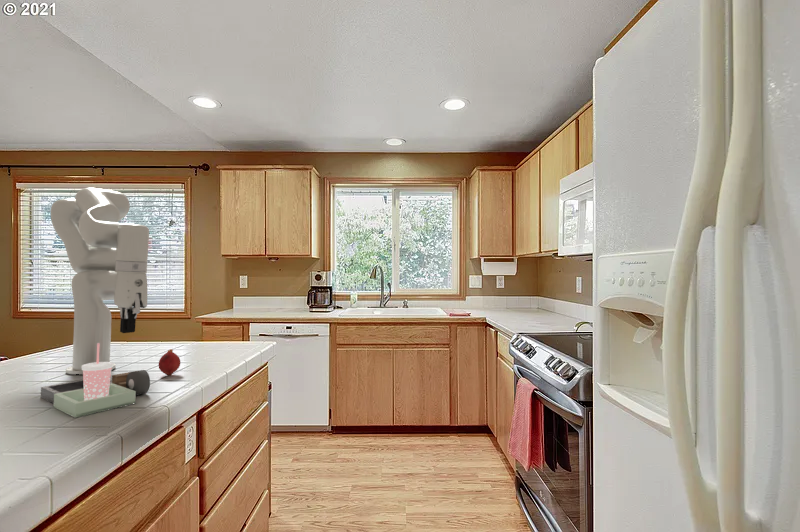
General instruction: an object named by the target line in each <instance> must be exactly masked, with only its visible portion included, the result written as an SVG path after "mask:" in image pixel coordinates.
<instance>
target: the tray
mask: <svg viewBox="0 0 800 532" xmlns="http://www.w3.org/2000/svg"><path fill="white" fill-rule="evenodd" d="M136 396H137V395H136V391H134V390H131V389H128V388H125V387H122V386H119V385H116V384H113V383H112V382H110V387H109V396H105V397H100V398H95V399H90V400H85V401H84V389H78V390H73V391H68V392H62V393H57V394H54V403H53V408H54V409H56V410H59V411H61V412H63V413H65V414H66V415H69V416H70V417H73V418H80V417H84V416H88V415H92V414H96V412H98V413H101V411H102V412H104V410H106V411H109V410H108V409H110V410H113V409H112V408H115V409H118V408H117V407H119V408H122V407H121V406H123V407H126V406H125V405H128V406H130V405H129V404H132V405H134V404H133V403H135V404H136Z"/></svg>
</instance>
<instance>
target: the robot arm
mask: <svg viewBox="0 0 800 532" xmlns="http://www.w3.org/2000/svg"><path fill="white" fill-rule="evenodd" d="M130 207H131V206H130V200H129V198H128V197H127V196H126V195H125V194H124V193H122V192H120V191H115V190H108V189H103V188H96V187H85V188H82V189H80V190H78V191H77V192H76V193H75V196H74V198H61V199H58V200H55V201H54V202H53V203H52V205H51V207H50V219H51V224H52V226H53V229H54V231H55V233H56V234H57V235H58V237H59V238H60V240H61V241H62V243H63V245H64V248H65V251H66V254H67V257H68V261H69V263H70V266H71V268H72V270H73V271H74V272H75V273H76V274H74V275H73V277H72V279H71V292H72V298H73V308H74V309H73V311H74V312H73V313H74V314H73V341H72V343H73V344H72V365H71V366H69V367H66V369H65V374H68V375H76V374H79V375H83V370H82V365H84V364H88V363H94V362H97V343H100V347H99V362H111V346H112V345H111V339H112V313H111V310H110V308H109V307H108V306H107V305H106V304H105V303H104V301H110V300H111V301H112V300H113V301H114V305H115V306H116V307H117V309H118V310H119V314H120V315H119V317H120V325H119V326H120V328H119V332H120V333H122V334H131V333H135V332H136V323H137V321H136V320H137V317H138V314H140V313H141V309H146V308H147V306H148V279H147V273H148V259H149V258H148V257H149V255H148V253H149V244H150V243H149V241H150V239H149V238H150V229H149V227H148V226H147V225H145V224H144V225H143V224H137V223H136V224H135V223H121V222H120V221H121V220H123V218H125V217H126V216H127V215H128V213H129V211H130ZM112 363H113V367H112V369H111V371H112V370H115V369H116V365H117V364H116V363H114V362H112Z"/></svg>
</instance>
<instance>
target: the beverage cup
mask: <svg viewBox="0 0 800 532" xmlns="http://www.w3.org/2000/svg"><path fill="white" fill-rule="evenodd" d="M99 347H100V343H97V362H94V363H88V364H84V365H82V370H83V374H82V380H83V385H84V401H85V400H90V399H95V398H100V397H105V396H109V387H110V384H111V379H112V370H111V369H112V367H113V363H114V362H113V361H110V362H99Z"/></svg>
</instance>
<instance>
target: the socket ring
mask: <svg viewBox="0 0 800 532" xmlns="http://www.w3.org/2000/svg"><path fill="white" fill-rule="evenodd" d="M78 389H84V385H83V379H80V380H75V381H67V382H63V383H62V382H61V383H56V384H51V385H45V386H41V387H40V398H41V399H43V400H46V401H48V402H50V403H52V404H54V394H57V393H62V392H68V391H73V390H78Z"/></svg>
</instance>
